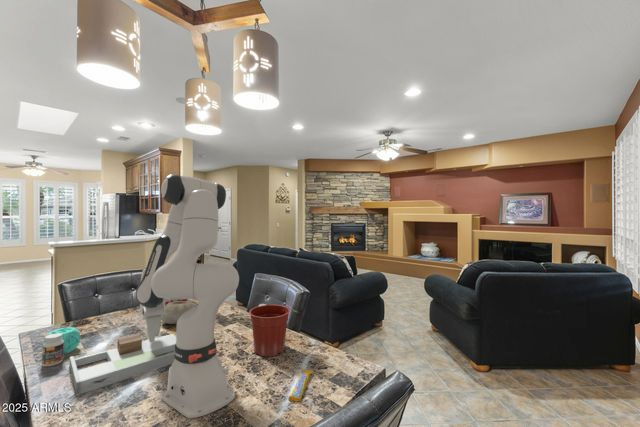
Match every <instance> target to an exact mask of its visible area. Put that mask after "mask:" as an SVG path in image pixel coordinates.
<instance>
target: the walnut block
mask: <svg viewBox="0 0 640 427" xmlns="http://www.w3.org/2000/svg"><path fill="white" fill-rule="evenodd" d="M142 342H143V338H142V337H141V335H140V334H139V333H136V334H131V335H127V336H121V337H117V347H116V348H117V349H118V352H119V355H123V354H127V353H131V352H135V351H139V350H142Z"/></svg>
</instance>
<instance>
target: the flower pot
mask: <svg viewBox="0 0 640 427" xmlns="http://www.w3.org/2000/svg"><path fill="white" fill-rule="evenodd" d="M290 312H291V308H289V306H285V305H281V304H266V305H263V306H259V305H258V306H255V307H253V308H251V309H250V310H249V312H248V314H249V315H250V322H251V324H252V326H251V327H252V328H251V329H252V338H253V341H252V342H253V351H254V353H255V354H256V355H257V354H258V356H260V357H266V358H267V357H273V356H277V355H278V354H282V353H283V352H284V350H285V345H286V344H285V343H286V334H287V324H288V320H289V315H290Z"/></svg>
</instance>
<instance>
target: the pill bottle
mask: <svg viewBox="0 0 640 427" xmlns="http://www.w3.org/2000/svg"><path fill="white" fill-rule="evenodd" d="M47 335H48V334H47ZM47 335H46V336H45V337H44V339H45V342H46V343H44V344H43V343H42V350H41V351H42V354H41V355H42V358H41V359H42V360H41V365H42V367H53V366H56V365H59V364H61V363H62V362H63V361H64V355H65V354H64V341H63V340H62V333H56V334H51V335H48V336H47Z"/></svg>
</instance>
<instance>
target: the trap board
mask: <svg viewBox="0 0 640 427" xmlns="http://www.w3.org/2000/svg"><path fill="white" fill-rule="evenodd" d="M175 344H176V335H175V334H174V333H171V334H167V335H163V336H157V337H155V341H154V342H149V339H147V340H142V350H139V351H135V352H131V353H127V354H123V355H119V352H118V349H117V347H116V348H115V347H114V348H112V349H107V350H105V351H101V352H97V353H93V354H89V355H86V356H80V357H78V358H75V356H74V355H73V356H70V357H69V371H70V375H71V379H72V383H73V388H74V392H75V396H79V395H82V394H84V393H88V392H90V391H94V390H98V389H100V388H103V387H106V386H108V385H112V384H115V383H118V382H122V381H125V380H127V379H131V378H134V377H137V376H139V375H143V374H145V373H146V374H147V373H149V372H151V371H155V370H158V369H161V368H163V367H164V368H165V367H167V366H171V365H172V364H173V362H174V360H175V358H174V348H175ZM105 359H107V361H106V362H103V363H99V364H95V365H91V366H88V367H85V368H82V369H78V367H80V366H84V365H88V364H91V363H95V362H98V361H99V362H100V361H102V360H105Z"/></svg>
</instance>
